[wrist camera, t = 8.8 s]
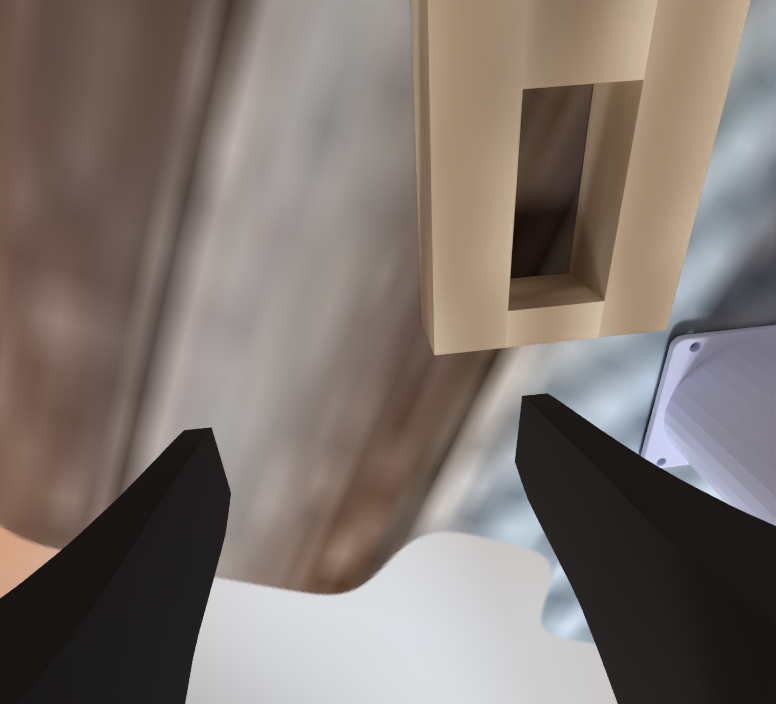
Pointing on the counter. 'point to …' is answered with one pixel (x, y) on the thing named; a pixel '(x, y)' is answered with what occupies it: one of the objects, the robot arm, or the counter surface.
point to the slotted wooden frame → (600, 167)
